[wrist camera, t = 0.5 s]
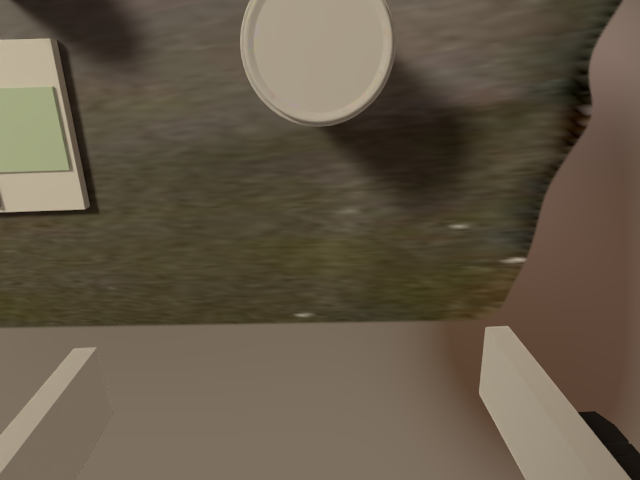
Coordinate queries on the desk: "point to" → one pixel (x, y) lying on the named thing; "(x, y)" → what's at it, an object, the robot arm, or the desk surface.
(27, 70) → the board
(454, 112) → the desk surface
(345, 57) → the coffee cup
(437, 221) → the desk surface
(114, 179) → the desk surface
